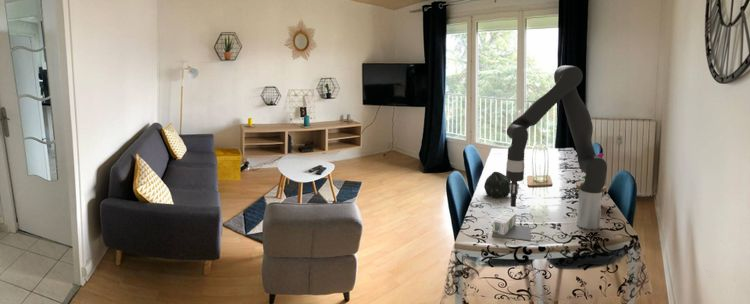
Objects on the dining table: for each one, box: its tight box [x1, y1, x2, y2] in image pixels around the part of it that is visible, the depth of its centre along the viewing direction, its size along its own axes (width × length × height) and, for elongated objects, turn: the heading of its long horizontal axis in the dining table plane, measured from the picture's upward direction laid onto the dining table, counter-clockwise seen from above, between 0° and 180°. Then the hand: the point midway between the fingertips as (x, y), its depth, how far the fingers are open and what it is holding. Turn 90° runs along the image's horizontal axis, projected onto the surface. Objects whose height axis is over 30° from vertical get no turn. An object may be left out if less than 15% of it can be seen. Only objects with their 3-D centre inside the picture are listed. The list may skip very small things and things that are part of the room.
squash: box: [483, 171, 512, 199], centre depth 257 cm, size 14×15×15 cm
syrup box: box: [492, 211, 517, 235], centre depth 212 cm, size 6×6×14 cm
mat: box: [491, 224, 531, 242], centre depth 210 cm, size 16×15×1 cm
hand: (513, 206), depth 211 cm, fingers closed
